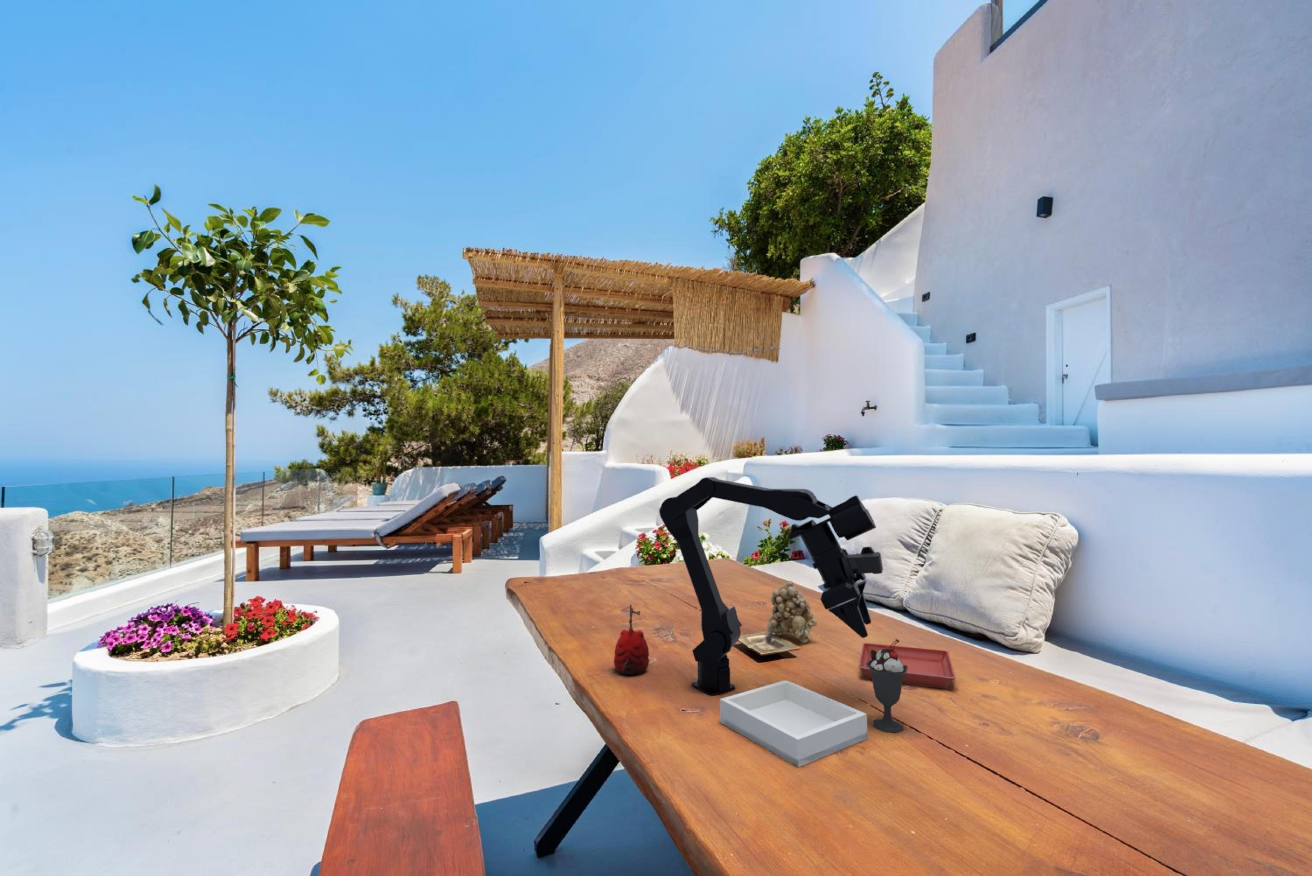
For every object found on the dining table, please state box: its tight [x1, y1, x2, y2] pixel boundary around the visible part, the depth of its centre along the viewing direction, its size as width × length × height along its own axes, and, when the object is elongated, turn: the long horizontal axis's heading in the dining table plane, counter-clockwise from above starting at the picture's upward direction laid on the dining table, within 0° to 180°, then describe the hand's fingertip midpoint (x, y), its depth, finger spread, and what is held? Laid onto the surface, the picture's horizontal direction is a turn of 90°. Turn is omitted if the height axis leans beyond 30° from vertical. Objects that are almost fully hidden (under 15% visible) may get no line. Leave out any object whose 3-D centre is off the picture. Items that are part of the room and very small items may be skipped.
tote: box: [719, 679, 868, 768], centre depth 99 cm, size 18×16×4 cm
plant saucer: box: [858, 642, 956, 689], centre depth 126 cm, size 18×18×3 cm
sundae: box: [866, 638, 908, 733], centre depth 100 cm, size 7×7×15 cm
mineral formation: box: [766, 580, 818, 644], centre depth 150 cm, size 8×13×15 cm, turn 42°
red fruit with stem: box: [613, 604, 650, 676], centre depth 127 cm, size 8×7×15 cm
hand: (867, 630), depth 106 cm, fingers open, 9 cm apart
